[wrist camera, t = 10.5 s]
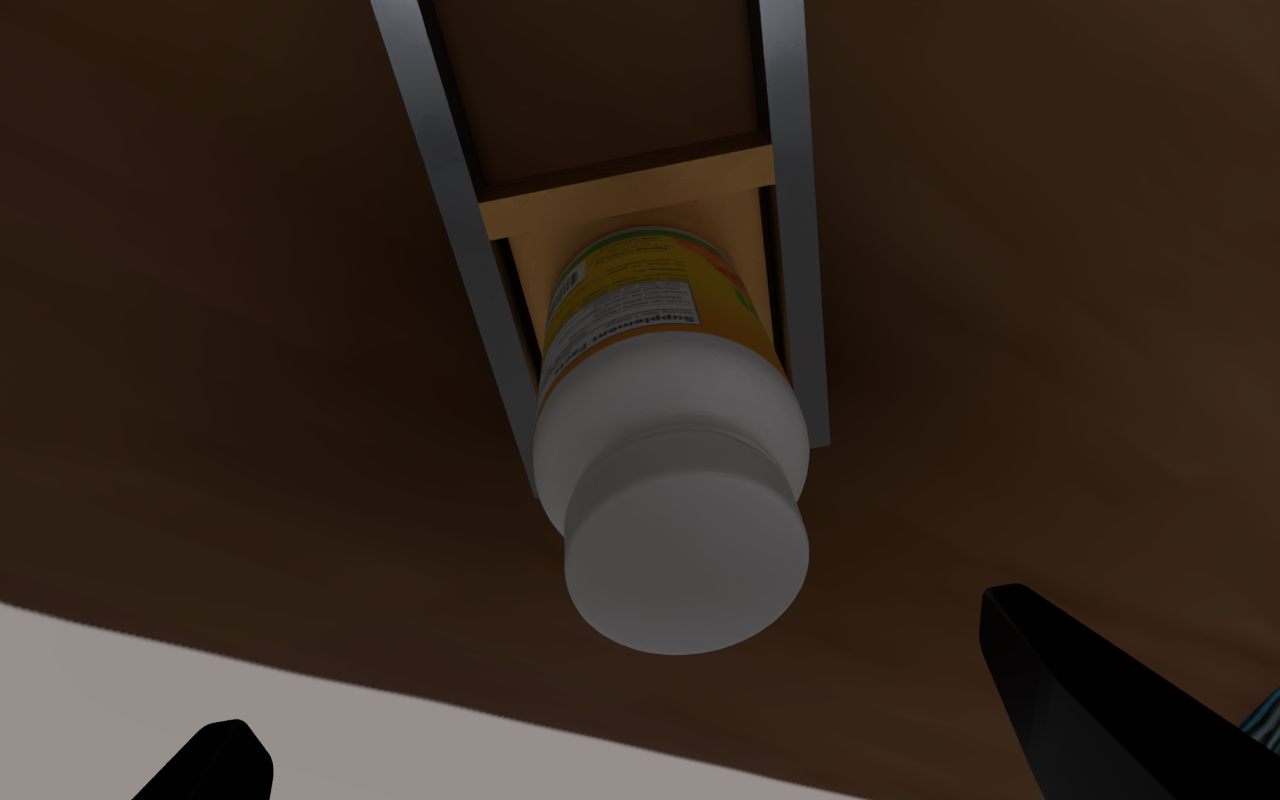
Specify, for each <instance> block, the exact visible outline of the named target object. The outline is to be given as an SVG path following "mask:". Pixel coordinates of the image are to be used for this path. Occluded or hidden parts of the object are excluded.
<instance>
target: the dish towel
mask: <svg viewBox="0 0 1280 800" xmlns="http://www.w3.org/2000/svg"><path fill="white" fill-rule="evenodd" d="M1238 728H1239V729H1241V730H1242V731H1244V732H1245V733H1246V734H1248V735H1249V736H1251V737H1252V738H1254V739H1255V740H1257V741H1258V742H1260V743H1261V744H1263V745H1264V746H1266V747H1267V748H1269V749H1270V750H1272V751H1273V752H1275V753H1276V754H1278V755H1279V756H1280V687H1279V688H1278V689H1277V690H1275V691H1274V692H1273V693H1272V694H1271V695H1270V696H1269V697H1268V698H1267V700H1266V701H1265V702H1264V703H1263V704H1262V705H1261V706H1260V707H1259V708H1258V709H1257V710H1256V711H1255V712H1254V713H1252V714H1251V715H1250V716H1249V717H1248V718H1246V719H1245V720H1244V721H1243V722H1242V723H1241V724H1240V725H1239V726H1238Z"/></svg>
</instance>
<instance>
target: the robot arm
mask: <svg viewBox="0 0 1280 800" xmlns="http://www.w3.org/2000/svg"><path fill="white" fill-rule="evenodd" d="M979 641H980V646H981V650H982V653H983V656H984V658H985V661H986V663H987V665H988V668H989V670H990V673H991V675H992V677H993V680H994V682H995V685H996V687H997V690H998V692H999V694H1000V697H1001V699H1002V702H1003V704H1004V706H1005V709H1006V711H1007V714H1008V716H1009V718H1010V721H1011V723H1012V726H1013V728H1014V730H1015V733H1016V735H1017V738H1018V740H1019V743H1020V745H1021V747H1022V750H1023V752H1024V755H1025V757H1026V759H1027V762H1028V764H1029V766H1030V769H1031V771H1032V773H1033V775H1034V778H1035V780H1036V782H1037V784H1038V786H1039V788H1040V790H1041V792H1042V794H1043V796H1044V798H1045V800H1280V756H1279V755H1278V754H1276V753H1275V752H1273V751H1272V750H1270V749H1269V748H1267V747H1266V746H1264V745H1263V744H1261V743H1260V742H1258V741H1257V740H1255V739H1254V738H1252V737H1251V736H1249V735H1248V734H1246V733H1245V732H1244V731H1242V730H1241V729H1239V728H1238V727H1236V726H1235V725H1233V724H1232V723H1230V722H1229V721H1227V720H1226V719H1224V718H1223V717H1221V716H1220V715H1218V714H1217V713H1215V712H1214V711H1212V710H1211V709H1209V708H1208V707H1206V706H1205V705H1203V704H1202V703H1200V702H1199V701H1197V700H1196V699H1194V698H1193V697H1191V696H1190V695H1188V694H1187V693H1185V692H1184V691H1182V690H1181V689H1179V688H1178V687H1176V686H1175V685H1173V684H1172V683H1170V682H1169V681H1167V680H1166V679H1164V678H1163V677H1161V676H1160V675H1158V674H1157V673H1155V672H1154V671H1152V670H1151V669H1149V668H1148V667H1146V666H1145V665H1143V664H1142V663H1140V662H1139V661H1137V660H1136V659H1134V658H1133V657H1132V656H1130V655H1129V654H1127V653H1126V652H1124V651H1123V650H1121V649H1120V648H1118V647H1117V646H1115V645H1114V644H1112V643H1111V642H1109V641H1108V640H1106V639H1105V638H1103V637H1102V636H1100V635H1099V634H1097V633H1096V632H1094V631H1093V630H1091V629H1090V628H1088V627H1087V626H1085V625H1084V624H1082V623H1081V622H1079V621H1078V620H1076V619H1075V618H1073V617H1072V616H1070V615H1069V614H1067V613H1066V612H1064V611H1063V610H1061V609H1060V608H1058V607H1057V606H1055V605H1054V604H1052V603H1051V602H1049V601H1048V600H1046V599H1045V598H1043V597H1042V596H1040V595H1039V594H1037V593H1036V592H1034V591H1033V590H1031V589H1030V588H1028V587H1027V586H1025V585H1022V584H1018V583H1013V584H1007V585H1001V586H996V587H990V588H988V589H986V590H985V592H984V593H983V597H982V606H981V617H980V628H979ZM272 782H273V762H272V759H271V756H270V755H269V753H268V752H267V751H266V749H265V748H264V746H263V745H262V744H261V742H260V741H259V740H258V738H257V737H256V736H255V734H254V733H253V731H252V730H251V729H250V727H249V726H248V725H247V724H246V723H245V722H244V721H242V720H239V719H234V720H227V721H222V722H216V723H211V724H208V725H206V726H204V727H203V728H201V729H200V730H199V731H198V732H197V733H196V734H195V735H194V736H193V737H192V738H191V739H190V740H189V741H188V742H187V743H186V744H185V745H184V746H183V747H182V748H181V749H180V750H179V751H178V753H176V755H175V756H174V757H173V758H172V759H171V760H170V761H169V762H168V763H167V764H166V765H165V766H164V767H163V768H162V769H161V770H160V771H159V772H158V773H157V774H156V775H155V776H154V777H153V778H152V779H151V780H150V781H149V782H148V783H147V784H146V786H144V787H143V788H142V790H140V792H139V793H138V794H137V795H136V796H135V797H134V798H133V799H132V800H270V794H271V788H272Z"/></svg>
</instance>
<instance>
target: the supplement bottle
mask: <svg viewBox="0 0 1280 800" xmlns="http://www.w3.org/2000/svg"><path fill="white" fill-rule="evenodd" d="M808 464H809V439H808V432H807V427H806V423H805V420H804V416H803V414H802V411H801V408H800V406H799V403H798V400H797V398H796V396H795V394H794V391H793V389H792V387H791V385H790V383H789V380H788V378H787V376H786V374H785V372H784V369H783V367H782V365H781V363H780V361H779V358H778V356H777V354H776V352H775V350H774V348H773V346H772V344H771V341H770V339H769V337H768V335H767V333H766V331H765V328H764V326H763V324H762V322H761V320H760V318H759V316H758V313H757V311H756V309H755V307H754V305H753V302H752V300H751V298H750V296H749V294H748V292H747V290H746V287H745V285H744V283H743V281H742V279H741V278H740V276H739V274H738V273H737V271H736V270H735V268H734V267H733V265H732V264H731V263H730V261H729V260H728V259H727V258H726V257H725V256H724V255H723V254H722V253H721V252H720V251H719V250H718V249H717V248H715V247H714V246H713V245H712V244H710V243H709V242H707V241H706V240H704V239H702V238H700V237H698V236H696V235H694V234H692V233H690V232H687V231H684V230H680V229H676V228H672V227H665V226H639V227H631V228H626V229H622V230H619V231H616V232H613V233H610V234H608V235H606V236H604V237H602V238H600V239H598V240H597V241H595V242H593V243H592V244H590V245H589V246H587V247H586V248H585V249H584V250H582V251H581V252H580V253H579V254H578V255H577V256H576V257H575V258H574V259H573V260H572V261H571V262H570V263H569V265H568V266H567V267H566V269H565V270H564V271H563V273H562V275H561V276H560V278H559V280H558V281H557V284H556V286H555V288H554V291H553V294H552V297H551V300H550V304H549V309H548V314H547V320H546V329H545V336H544V347H543V358H542V366H541V377H540V386H539V395H538V404H537V413H536V421H535V430H534V438H533V469H534V476H535V483H536V488H537V492H538V495H539V498H540V501H541V503H542V506H543V508H544V510H545V512H546V513H547V515H548V517H549V519H550V520H551V522H552V523H553V525H554V526H555V527H556V529H557V530H558V531H559V532H560V534H561V535H562V536H563V537H564V541H565V578H566V583H567V588H568V591H569V594H570V596H571V599H572V601H573V603H574V605H575V607H576V608H577V610H578V611H579V613H580V614H581V615H582V617H583V618H584V619H585V620H586V621H587V622H588V623H589V624H590V625H591V626H592V627H593V628H595V629H596V630H597V631H598V632H600V633H601V634H603V635H604V636H606V637H608V638H610V639H611V640H613V641H615V642H617V643H619V644H622V645H624V646H627V647H630V648H633V649H636V650H639V651H644V652H649V653H657V654H667V655H686V654H697V653H704V652H708V651H714V650H718V649H722V648H725V647H728V646H731V645H733V644H736V643H739V642H741V641H743V640H745V639H747V638H749V637H751V636H753V635H755V634H757V633H758V632H760V631H761V630H763V629H764V628H766V627H767V626H769V625H770V624H771V623H772V622H774V621H775V620H776V619H777V618H778V617H779V616H780V615H781V614H783V612H784V611H785V610H786V609H787V608H788V607H789V606H790V604H791V603H792V601H793V600H794V599H795V597H796V596H797V594H798V592H799V591H800V589H801V587H802V585H803V582H804V580H805V576H806V572H807V568H808V564H809V543H808V536H807V533H806V530H805V527H804V524H803V520H802V517H801V514H800V512H799V509H798V506H797V501H798V499H799V496H800V494H801V492H802V489H803V486H804V483H805V480H806V476H807V471H808Z"/></svg>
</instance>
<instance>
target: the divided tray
mask: <svg viewBox="0 0 1280 800" xmlns="http://www.w3.org/2000/svg"><path fill="white" fill-rule="evenodd" d="M370 1H371V4H372V7H373V10H374V13H375V16H376V19H377V22H378V25H379V28H380V31H381V34H382V37H383V40H384V43H385V46H386V49H387V52H388V55H389V58H390V61H391V64H392V67H393V70H394V73H395V76H396V79H397V82H398V85H399V88H400V92H401V95H402V98H403V101H404V104H405V107H406V110H407V113H408V116H409V119H410V122H411V125H412V128H413V131H414V134H415V137H416V140H417V143H418V146H419V149H420V152H421V155H422V158H423V161H424V164H425V167H426V170H427V173H428V176H429V179H430V182H431V185H432V188H433V191H434V194H435V197H436V200H437V204H438V207H439V210H440V213H441V216H442V219H443V222H444V225H445V228H446V231H447V234H448V237H449V240H450V243H451V246H452V249H453V252H454V255H455V258H456V261H457V264H458V267H459V270H460V273H461V276H462V279H463V282H464V285H465V288H466V291H467V294H468V297H469V300H470V303H471V306H472V309H473V312H474V316H475V319H476V322H477V325H478V328H479V331H480V334H481V337H482V340H483V343H484V346H485V349H486V352H487V355H488V358H489V361H490V364H491V367H492V370H493V373H494V376H495V379H496V382H497V385H498V388H499V391H500V394H501V397H502V400H503V403H504V406H505V409H506V412H507V415H508V418H509V421H510V424H511V428H512V431H513V434H514V437H515V440H516V443H517V446H518V449H519V452H520V455H521V458H522V461H523V464H524V467H525V470H526V473H527V476H528V479H529V482H530V485H531V488H532V491H533V494H534V497H535V499H536V498H539V495H538V492H537V488H536V483H535V476H534V469H533V438H534V430H535V421H536V413H537V404H538V395H539V386H540V377H541V372H540V369H539V365H538V362H537V359H536V355H535V352H534V348H533V345H532V341H531V338H530V335H529V331H528V328H527V324H526V321H525V317H524V314H523V311H522V307H521V304H520V300H519V297H518V294H517V290H516V287H515V283H514V280H513V276H512V273H511V270H510V266H509V263H508V259H507V256H506V252H505V249H504V246H503V242H502V239H501V238H506V237H508V240H509V244H510V247H511V251H512V254H513V258H514V261H515V265H516V268H517V272H518V275H519V279H520V282H521V286H522V289H523V293H524V296H525V299H526V303H527V306H528V310H529V313H530V317H531V320H532V324H533V327H534V331H535V334H536V338H537V341H538V345H539V348H540V352H541V355H542V358H543V347H544V336H545V329H546V320H547V314H548V309H549V304H550V300H551V297H552V294H553V291H554V288H555V286H556V284H557V281H558V280H559V278H560V276H561V275H562V273H563V271H564V270H565V269H566V267H567V266H568V265H569V263H570V262H571V261H572V260H573V259H574V258H575V257H576V256H577V255H578V254H579V253H580V252H581V251H582V250H584V249H585V248H586V247H587V246H589V245H590V244H592V243H593V242H595V241H597V240H598V239H600V238H602V237H604V236H606V235H608V234H610V233H613V232H616V231H619V230H622V229H626V228H631V227H639V226H665V227H672V228H676V229H680V230H684V231H687V232H690V233H692V234H694V235H696V236H698V237H700V238H702V239H704V240H706V241H707V242H709V243H710V244H712V245H713V246H714V247H715V248H717V249H718V250H719V251H720V252H721V253H722V254H723V255H724V256H725V257H726V258H727V259H728V260H729V261H730V263H731V264H732V265H733V267H734V268H735V270H736V271H737V273H738V274H739V276H740V278H741V279H742V281H743V283H744V285H745V287H746V290H747V292H748V294H749V296H750V298H751V300H752V302H753V305H754V307H755V309H756V311H757V313H758V316H759V318H760V320H761V322H762V324H763V326H764V328H765V331H766V333H767V335H768V337H769V339H770V341H771V344H772V346H773V348H774V341H773V331H772V321H771V311H770V301H769V291H768V281H767V272H766V262H765V252H764V242H763V232H762V222H761V212H760V202H759V192H758V187H762V186H765V195H766V206H767V216H768V226H769V237H770V247H771V258H772V268H773V279H774V289H775V299H776V310H777V320H778V331H779V341H780V351H781V362H782V367H783V369H784V372H785V374H786V376H787V378H788V380H789V383H790V385H791V387H792V389H793V391H794V394H795V396H796V398H797V400H798V403H799V406H800V408H801V411H802V414H803V416H804V420H805V423H806V427H807V432H808V439H809V449H812V448H817V447H823V446H828V445H831V444H830V428H829V411H828V395H827V378H826V362H825V346H824V329H823V313H822V296H821V280H820V263H819V247H818V230H817V214H816V197H815V181H814V164H813V148H812V131H811V115H810V98H809V82H808V65H807V49H806V32H805V16H804V0H747V8H748V18H749V29H750V39H751V49H752V60H753V70H754V81H755V91H756V101H757V112H758V122H759V131H754V132H749V133H744V134H739V135H734V136H729V137H724V138H719V139H715V140H710V141H705V142H700V143H695V144H690V145H685V146H680V147H675V148H670V149H665V150H660V151H655V152H650V153H645V154H640V155H635V156H630V157H626V158H621V159H616V160H611V161H606V162H601V163H596V164H591V165H586V166H581V167H576V168H571V169H566V170H561V171H556V172H551V173H546V174H542V175H537V176H532V177H527V178H522V179H517V180H512V181H507V182H502V183H497V184H492V185H487V186H486V184H485V181H484V177H483V174H482V170H481V167H480V163H479V160H478V157H477V153H476V150H475V146H474V143H473V139H472V136H471V133H470V129H469V126H468V122H467V119H466V115H465V112H464V109H463V105H462V102H461V98H460V95H459V92H458V88H457V85H456V81H455V78H454V74H453V71H452V68H451V64H450V61H449V57H448V54H447V50H446V47H445V44H444V40H443V37H442V33H441V30H440V26H439V23H438V20H437V16H436V13H435V9H434V6H433V3H432V0H370Z"/></svg>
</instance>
